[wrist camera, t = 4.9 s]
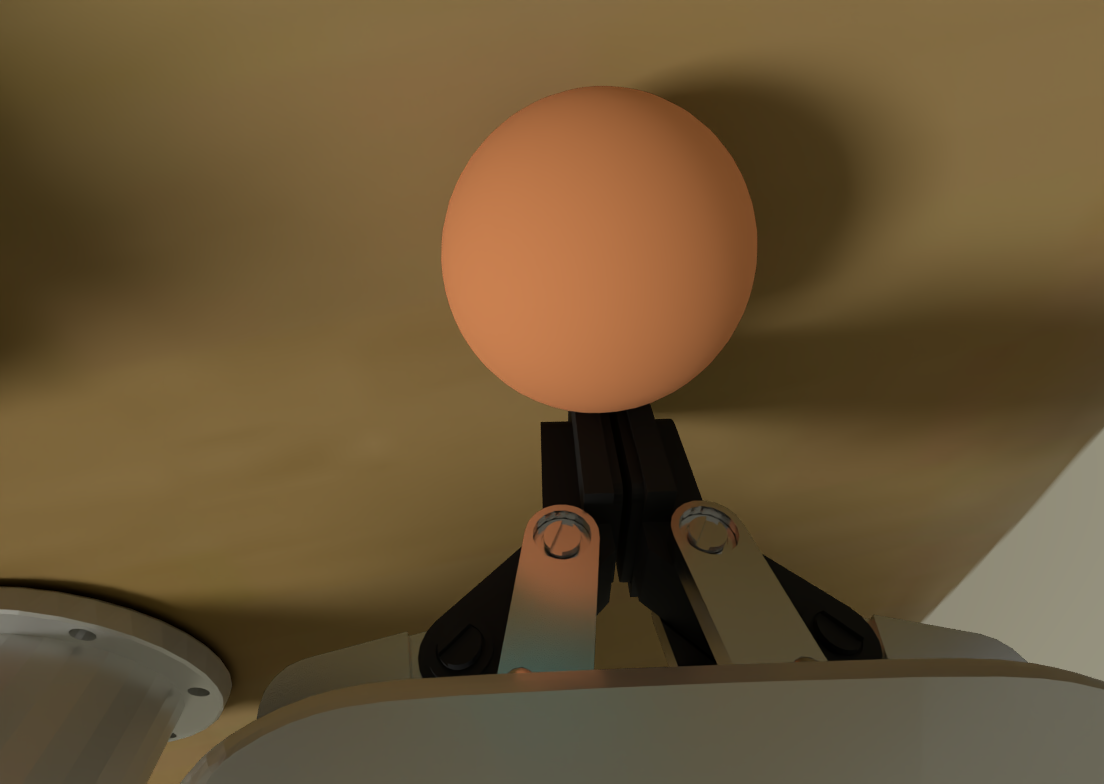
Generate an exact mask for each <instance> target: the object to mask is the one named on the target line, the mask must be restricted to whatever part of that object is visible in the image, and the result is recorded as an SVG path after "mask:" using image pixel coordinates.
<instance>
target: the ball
mask: <svg viewBox="0 0 1104 784" xmlns="http://www.w3.org/2000/svg"><path fill="white" fill-rule="evenodd" d="M441 262H442V272H443V280H444V285H445V291H446V294H447V298H448V302H449V305H450V308H451V311H452V313H453V316H454V318H455V321H456V323H457V325H458V327H459V329H460V331H461V333H462V335H463V336H464V338H465V340H466V341H467V343H468V344H469V346H470V347H471V349H472V350H473V351H474V353H475V354H476V355H477V357H478V358H479V359H480V360H481V361H482V362H483V364H484V365H485V366H486V367H487V368H488V369H489V370H490V371H492V372H493V373H494V374H495V375H496V376H497V377H498V378H500V379H501V380H502V381H503V382H504V383H506V384H507V385H508V386H510V387H511V388H513V389H514V390H516V391H517V392H519V393H521V394H523V395H525V396H527V397H529V398H531V399H533V400H535V401H538V402H541V403H543V404H546V405H549V406H552V407H555V408H559V409H563V410H567V411H575V412H582V413H606V412H616V411H623V410H628V409H633V408H637V407H640V406H643V405H646V404H649V403H652V402H654V401H656V400H658V399H660V398H663V397H665V396H667V395H669V394H671V393H673V392H675V391H676V390H678V389H679V388H681V387H682V386H684V385H685V384H687V383H688V382H690V381H691V380H692V379H693V378H695V377H696V376H697V375H698V374H699V373H700V372H702V371H703V370H704V369H705V368H706V367H707V366H708V365H709V364H710V363H711V362H712V361H713V360H714V359H715V357H716V356H717V355H718V354H719V352H720V351H721V350H722V349H723V347H724V346H725V345H726V344H727V342H728V341H729V340H730V338H731V336H732V334H733V332H734V331H735V329H736V327H737V325H738V323H739V321H740V320H741V318H742V316H743V314H744V311H745V308H746V306H747V303H748V300H749V297H750V294H751V290H752V286H753V282H754V277H755V271H756V266H757V228H756V221H755V214H754V209H753V204H752V201H751V198H750V195H749V192H748V189H747V186H746V183H745V181H744V179H743V176H742V174H741V172H740V170H739V169H738V167H737V165H736V163H735V161H734V159H733V158H732V156H731V155H730V153H729V152H728V150H727V149H726V148H725V147H724V145H723V144H722V143H721V142H720V140H719V139H718V138H717V137H716V136H715V134H714V133H713V132H712V131H711V130H710V129H709V128H707V127H706V126H705V125H704V124H703V123H701V122H700V121H699V120H698V119H697V118H695V117H694V116H693V115H692V114H690V113H689V112H688V111H686V110H684V109H683V108H681V107H679V106H677V105H675V104H673V103H671V102H669V101H667V100H665V99H663V98H661V97H659V96H656V95H654V94H650V93H647V92H644V91H640V90H635V89H630V88H623V87H613V86H592V87H582V88H576V89H571V90H567V91H564V92H561V93H557V94H554V95H551V96H548V97H545V98H543V99H540V100H538V101H536V102H534V103H532V104H531V105H529V106H527V107H525V108H523V109H522V110H520V111H518V112H517V113H515V114H514V115H512V116H511V117H510V118H508V119H507V120H506V121H505V122H504V123H502V124H501V125H500V126H499V127H498V128H496V129H495V130H494V131H493V132H492V133H491V134H490V135H489V136H488V137H487V138H486V140H485V141H484V142H483V143H482V144H481V145H480V147H479V148H478V149H477V150H476V152H475V153H474V154H473V155H472V157H471V158H470V160H469V162H468V163H467V165H466V167H465V168H464V170H463V172H462V173H461V175H460V177H459V179H458V181H457V183H456V186H455V189H454V191H453V194H452V196H451V199H450V201H449V205H448V209H447V213H446V218H445V222H444V227H443V235H442V256H441Z"/></svg>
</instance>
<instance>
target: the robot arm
mask: <svg viewBox="0 0 1104 784" xmlns="http://www.w3.org/2000/svg"><path fill="white" fill-rule="evenodd" d="M541 455H542V497H543V509H542V510H540V511H539V512H537V513H535V514H534V516H533V517H532V518H531V519H530V520H529V522H528V524H527V527H526V529H525V533H524V538H523V544H522V547H521V548H520V549H519V550H517V551H516V552H515V553H514V554H513V555H512V556H510V557H509V558H508V559H507V560H506V561H505V562H504V563H502V564H501V565H500V566H499V567H498V568H497V569H496V570H494V571H493V572H492V573H491V574H490V575H489V576H487V577H486V578H485V579H484V580H483V581H482V582H481V583H479V584H478V585H477V586H476V587H475V588H474V589H473V590H471V591H470V592H469V593H468V594H467V595H466V596H464V597H463V598H462V599H461V600H460V601H459V602H458V603H456V604H455V605H454V606H453V607H452V608H451V609H450V610H448V611H447V612H446V613H445V614H444V615H443V616H441V617H440V618H439V619H438V620H437V621H436V622H435V623H434V624H433V625H432V626H431V627H430V629H429V630H428V631H426V632H422V633H419V634H415V635H411V636H409V634H408V631H407V632H403V633H399V634H396V635H392V636H388V637H384V638H381V639H377V640H373V641H370V642H366V643H362V644H358V645H355V646H351V647H347V648H343V649H340V650H336V651H332V652H328V653H325V654H321V655H317V656H313V657H310V658H306V659H303V660H300V661H298V662H296V663H294V664H291V665H289V666H288V667H287V668H285V669H284V670H283V671H282V672H280V673H279V674H278V675H277V676H276V677H275V678H274V679H273V680H272V682H271V683H270V685H269V686H268V687H267V689H266V690H265V691H264V694H263V697H262V700H261V703H260V705H259V709H258V715H257V720H255V721H253V722H251V723H249V724H248V725H246V726H244V727H243V728H241V729H240V730H238V731H236V732H235V733H233V734H231V735H230V736H228V737H227V738H226V739H224V740H223V741H222V742H220V743H219V744H217V745H216V746H215V747H213V748H212V749H211V750H210V751H209V752H208V753H207V754H206V755H204V756H203V757H202V758H201V759H200V760H199V762H198V763H197V764H196V765H195V766H194V767H193V768H192V769H191V771H190V772H189V773H188V774H187V775H186V776H185V778H184V779H183V780H182V782H181V783H180V784H1104V681H1101V680H1098V679H1094V678H1091V677H1088V676H1085V675H1082V674H1078V673H1075V672H1071V671H1067V670H1062V669H1059V668H1055V667H1050V666H1044V665H1039V664H1034V663H1028V662H1027V661H1026V660H1025V659H1023V658H1022V657H1021V656H1020V655H1019V654H1018V653H1017V652H1016V651H1014V650H1013V649H1012V648H1010V647H1008V646H1007V645H1005V644H1003V643H1002V642H1000V641H998V640H997V639H994V638H991V637H988V636H984V635H982V634H978V633H972V632H966V631H961V630H955V629H950V628H944V627H939V626H933V625H928V624H922V623H917V622H911V621H906V620H900V619H895V618H889V617H884V616H878V615H873V616H872V617H871V619H865V618H863V617H862V616H860V615H859V614H858V613H856V612H855V611H854V610H852V609H851V608H850V607H848V606H847V605H845V604H843V603H842V602H840V601H838V600H837V599H835V598H833V597H832V596H830V595H829V594H827V593H825V592H824V591H822V590H820V589H819V588H817V587H815V586H814V585H812V584H810V583H809V582H807V581H806V580H804V579H802V578H801V577H799V576H797V575H796V574H794V573H792V572H791V571H789V570H787V569H786V568H784V567H783V566H781V565H779V564H778V563H776V562H774V561H773V560H771V559H769V558H768V557H766V556H764V555H763V554H762V553H761V552H760V550H759V548H758V547H757V545H756V543H755V542H754V540H753V539H752V537H751V535H750V534H749V532H748V530H747V529H746V527H745V526H744V524H743V523H742V521H741V520H740V519H739V518H738V517H737V515H736V514H734V513H733V512H732V511H730V510H729V509H728V508H726V507H724V506H722V505H719V504H717V503H714V502H709V501H703V500H702V498H701V495H700V492H699V489H698V487H697V484H696V481H695V478H694V476H693V473H692V470H691V467H690V465H689V462H688V459H687V456H686V453H685V451H684V448H683V445H682V442H681V440H680V437H679V434H678V431H677V429H676V426H675V424H674V422H673V420H672V419H655V418H654V415H653V412H652V409H651V406H650V403H649V404H646V405H643V406H640V407H637V408H633V409H628V410H623V411H616V412H606V413H582V412H575V411H568V421H567V422H541ZM615 563H616V565H617V571H618V577H619V581H620V582H628V587H629V592H630V597H638V598H639V601H640V602H641V603H642V604H644V605H645V606H646V607H648V608H649V609H650V610H651V611H652V612H651V614H652V619H653V624H654V626H655V629H656V632H657V635H658V637H659V640H660V643H661V646H662V649H663V651H664V654H665V657H666V660H667V662H668V665H669V667H653V668H627V669H602V670H594V655H595V633H596V616H597V615H598V614H599V613H600V611H601V610H602V609H603V608H604V607H605V606H606V605H607V604H608V602H609V598H610V590H611V583H613V579H614V571H615ZM231 688H232V682H231V677H230V673H229V672H228V670H227V668H226V667H225V665H224V664H223V662H222V661H221V659H220V658H219V657H218V656H217V655H216V654H214V653H213V652H212V651H211V650H210V649H209V648H208V647H207V646H206V645H204V644H203V643H201V642H200V641H198V640H197V639H195V638H193V637H192V636H190V635H189V634H187V633H186V632H184V631H182V630H180V629H178V628H176V627H174V626H172V625H170V624H168V623H166V622H163V621H161V620H159V619H156V618H154V617H151V616H148V615H146V614H143V613H140V612H138V611H135V610H133V609H130V608H126V607H123V606H119V605H116V604H112V603H109V602H105V601H102V600H98V599H94V598H89V597H84V596H79V595H74V594H69V593H64V592H59V591H50V590H42V589H33V588H25V587H1V586H0V784H147V782H148V780H149V778H150V776H151V774H152V772H153V770H154V768H155V766H156V764H157V762H158V760H159V758H160V756H161V754H162V752H163V750H164V748H165V746H166V744H167V742H170V741H175V740H178V739H182V738H185V737H189V736H192V735H194V734H196V733H198V732H200V731H202V730H204V729H206V728H208V727H209V726H210V725H212V724H213V723H214V722H215V721H216V720H218V718H219V716H220V714H221V713H222V711H223V709H224V706H225V704H226V702H227V700H228V698H229V696H230V692H231Z"/></svg>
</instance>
